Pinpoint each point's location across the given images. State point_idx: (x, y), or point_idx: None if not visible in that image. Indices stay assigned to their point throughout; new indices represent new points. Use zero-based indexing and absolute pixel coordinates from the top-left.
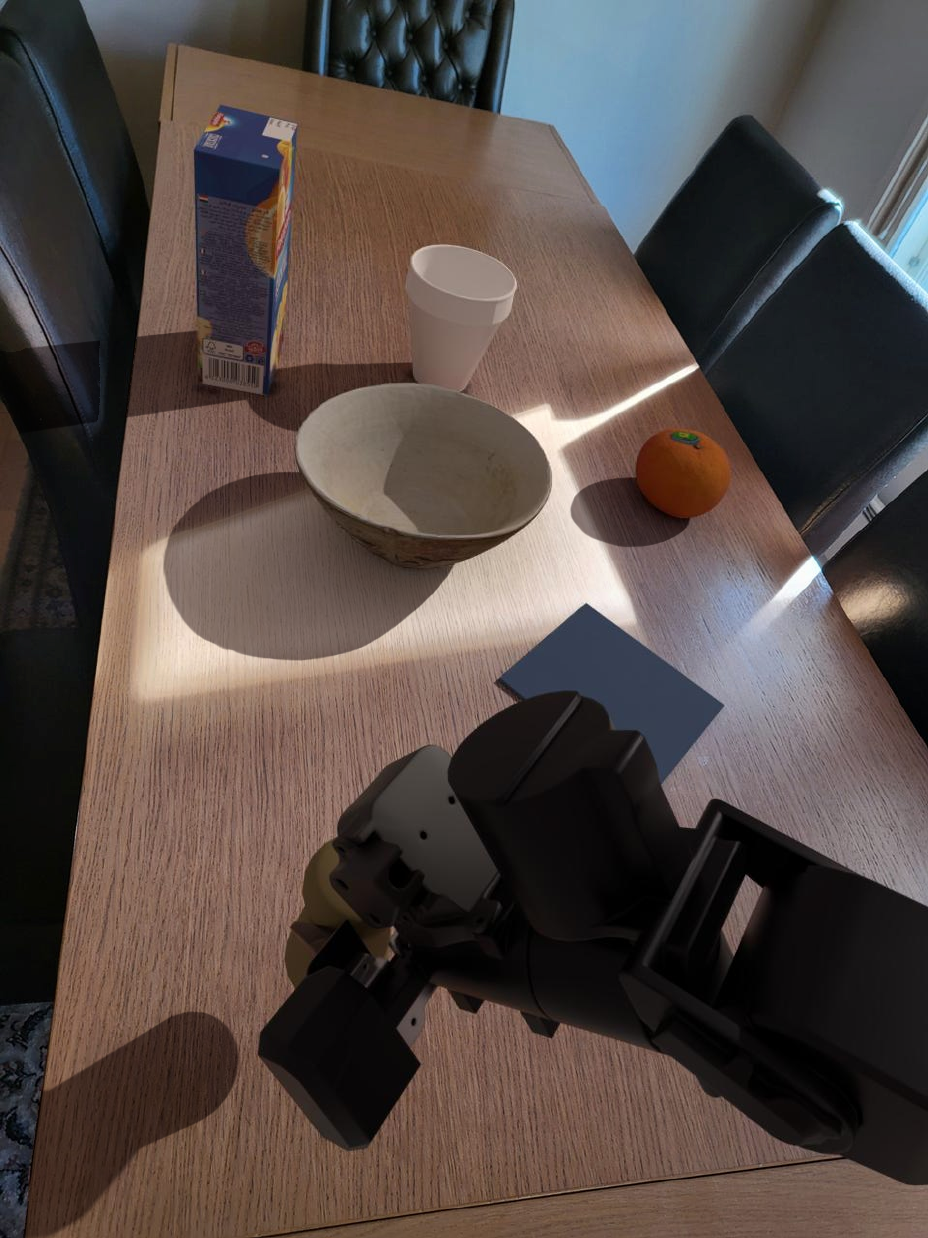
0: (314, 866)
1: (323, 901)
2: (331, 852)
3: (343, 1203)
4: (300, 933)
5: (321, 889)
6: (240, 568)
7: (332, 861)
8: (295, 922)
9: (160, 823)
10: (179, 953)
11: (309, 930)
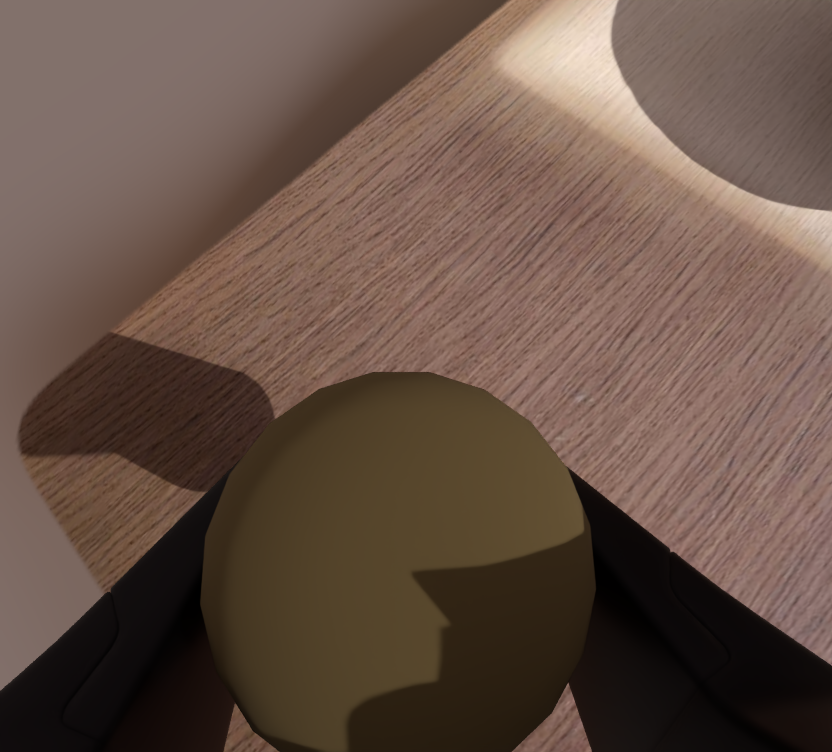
0: (316, 408)
1: (224, 538)
2: (398, 420)
3: None
4: (196, 507)
5: (251, 499)
6: (722, 13)
7: (367, 452)
8: None
9: (401, 194)
10: (302, 325)
11: (197, 532)
